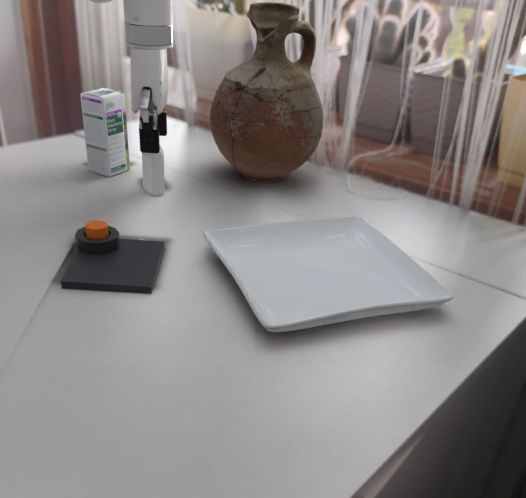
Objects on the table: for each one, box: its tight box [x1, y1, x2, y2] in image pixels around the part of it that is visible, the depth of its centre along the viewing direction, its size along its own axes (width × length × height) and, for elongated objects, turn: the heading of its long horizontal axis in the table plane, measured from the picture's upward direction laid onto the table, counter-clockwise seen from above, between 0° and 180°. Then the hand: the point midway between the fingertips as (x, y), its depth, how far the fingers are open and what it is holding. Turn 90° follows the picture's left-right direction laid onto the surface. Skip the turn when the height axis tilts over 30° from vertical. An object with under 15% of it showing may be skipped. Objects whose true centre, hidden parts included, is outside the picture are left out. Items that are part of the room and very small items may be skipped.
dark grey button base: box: [60, 225, 166, 295], centre depth 89 cm, size 12×14×3 cm
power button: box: [84, 219, 109, 239], centre depth 91 cm, size 3×3×2 cm
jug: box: [209, 1, 325, 183], centre depth 117 cm, size 22×22×30 cm
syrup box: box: [79, 87, 131, 178], centre depth 117 cm, size 6×6×14 cm
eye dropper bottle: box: [141, 145, 166, 197], centre depth 111 cm, size 4×6×12 cm
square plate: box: [202, 215, 455, 333], centre depth 89 cm, size 27×27×4 cm
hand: (154, 143), depth 110 cm, fingers open, 9 cm apart
